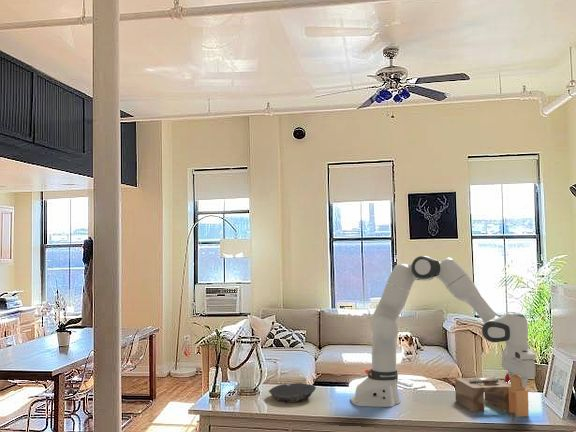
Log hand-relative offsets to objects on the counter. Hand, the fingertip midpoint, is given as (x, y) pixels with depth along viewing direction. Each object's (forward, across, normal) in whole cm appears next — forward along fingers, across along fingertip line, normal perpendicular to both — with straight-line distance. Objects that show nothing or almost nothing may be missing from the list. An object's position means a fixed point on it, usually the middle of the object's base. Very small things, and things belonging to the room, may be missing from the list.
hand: (517, 384), depth 228 cm
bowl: (+13, -36, -91) cm, 99 cm away
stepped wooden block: (+12, 0, 0) cm, 12 cm away
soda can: (+12, -21, +10) cm, 26 cm away
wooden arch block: (+12, -14, -8) cm, 20 cm away
